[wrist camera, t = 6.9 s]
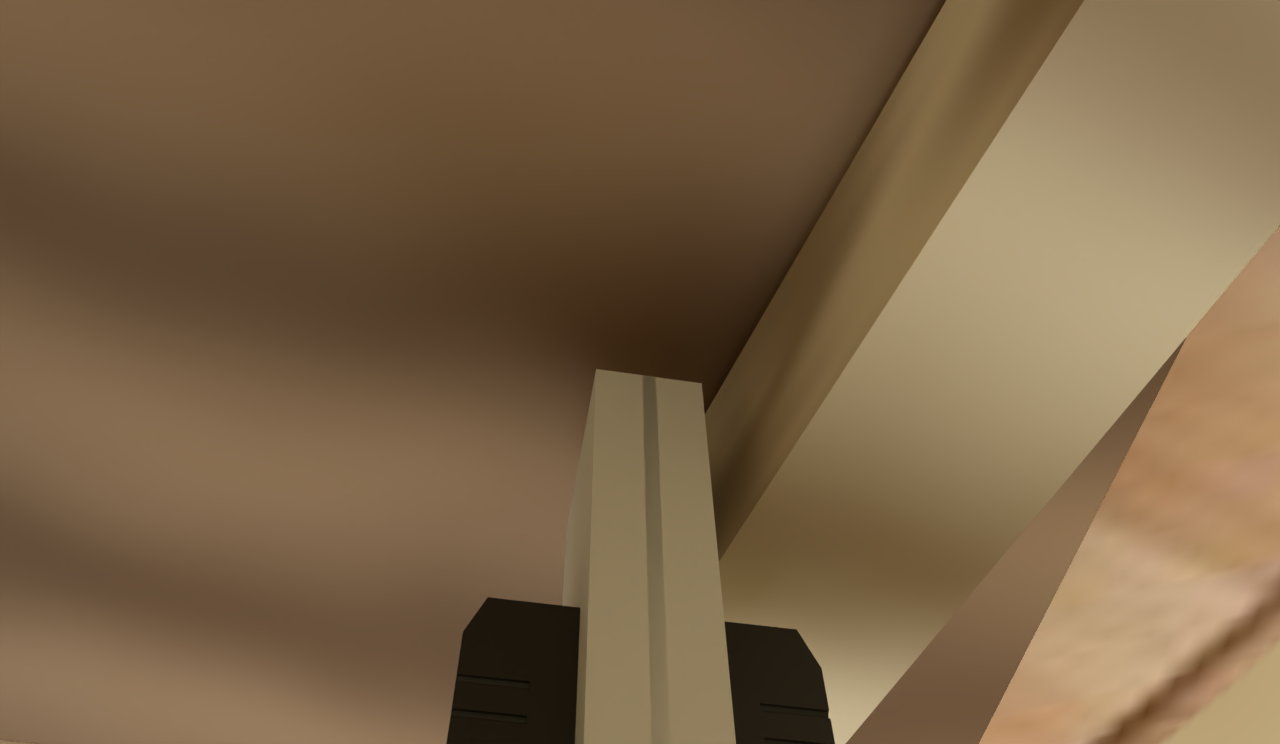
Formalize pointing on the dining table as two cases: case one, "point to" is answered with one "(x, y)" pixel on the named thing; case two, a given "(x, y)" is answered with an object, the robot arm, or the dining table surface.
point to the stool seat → (395, 335)
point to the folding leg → (984, 309)
